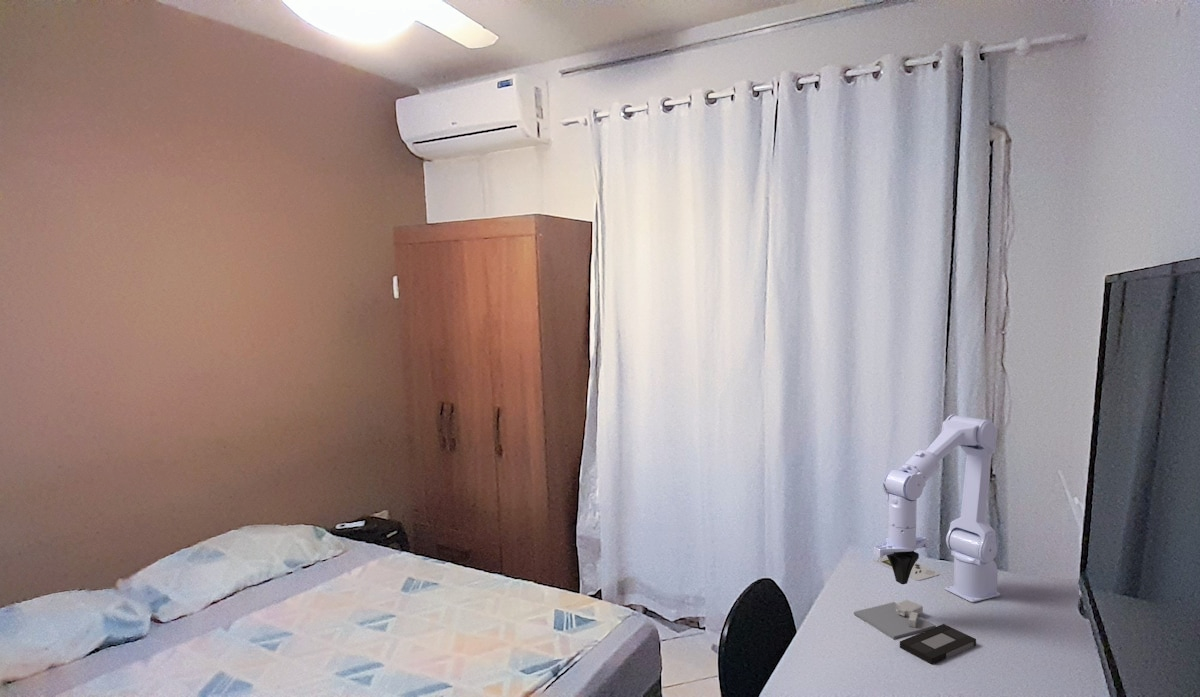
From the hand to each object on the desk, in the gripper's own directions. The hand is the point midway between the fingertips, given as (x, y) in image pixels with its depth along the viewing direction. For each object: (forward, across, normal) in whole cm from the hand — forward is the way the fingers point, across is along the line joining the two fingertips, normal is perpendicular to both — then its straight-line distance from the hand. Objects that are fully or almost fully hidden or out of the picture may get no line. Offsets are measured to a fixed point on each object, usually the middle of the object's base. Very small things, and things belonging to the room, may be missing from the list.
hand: (901, 582), depth 150 cm
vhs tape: (+10, +2, +12) cm, 15 cm away
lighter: (+7, -6, 0) cm, 9 cm away
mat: (+9, +2, 0) cm, 9 cm away
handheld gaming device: (+9, -23, -21) cm, 32 cm away
